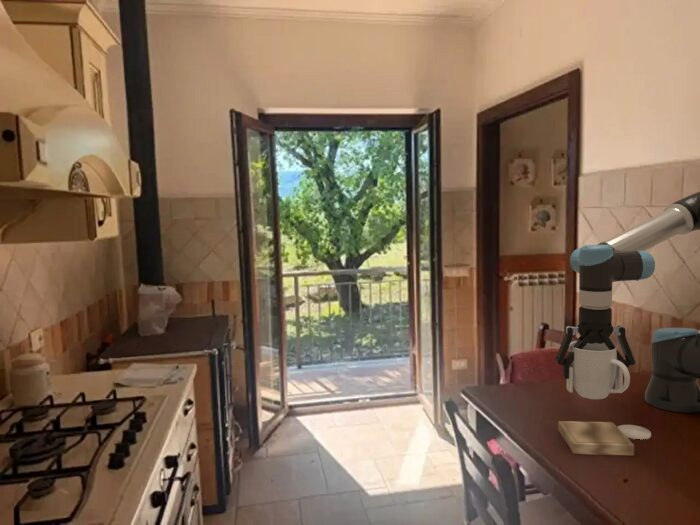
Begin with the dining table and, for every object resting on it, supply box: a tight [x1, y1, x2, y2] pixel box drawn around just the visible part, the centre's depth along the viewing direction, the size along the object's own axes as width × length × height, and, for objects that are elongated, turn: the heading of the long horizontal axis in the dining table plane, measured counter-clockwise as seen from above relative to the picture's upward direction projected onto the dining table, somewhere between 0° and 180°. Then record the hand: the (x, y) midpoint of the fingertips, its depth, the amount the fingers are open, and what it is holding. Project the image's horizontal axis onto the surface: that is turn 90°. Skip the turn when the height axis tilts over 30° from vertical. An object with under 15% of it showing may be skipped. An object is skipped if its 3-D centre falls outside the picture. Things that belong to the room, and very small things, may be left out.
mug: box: [568, 340, 631, 400], centre depth 130 cm, size 15×11×13 cm
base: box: [557, 420, 635, 456], centre depth 132 cm, size 14×14×3 cm
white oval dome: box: [617, 424, 652, 441], centre depth 137 cm, size 8×8×1 cm
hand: (594, 391), depth 131 cm, fingers closed on mug, 11 cm apart
